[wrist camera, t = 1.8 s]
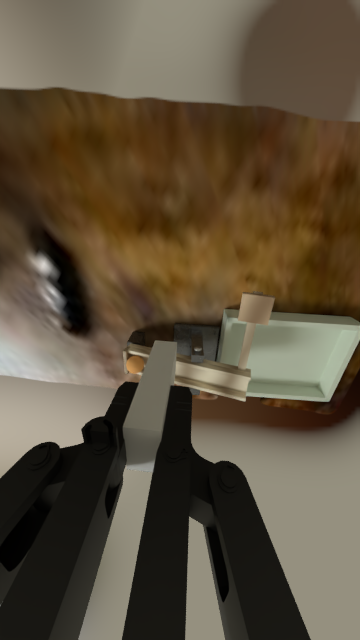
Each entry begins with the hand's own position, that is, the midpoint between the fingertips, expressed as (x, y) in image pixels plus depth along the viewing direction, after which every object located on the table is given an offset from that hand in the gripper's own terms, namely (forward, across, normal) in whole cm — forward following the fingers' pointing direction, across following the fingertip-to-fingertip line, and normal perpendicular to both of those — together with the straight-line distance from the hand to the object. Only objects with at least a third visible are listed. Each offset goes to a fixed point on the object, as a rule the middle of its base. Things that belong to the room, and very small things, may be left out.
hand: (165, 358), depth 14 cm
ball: (+18, -8, -15) cm, 24 cm away
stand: (+25, -1, -15) cm, 29 cm away
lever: (+19, +2, -8) cm, 21 cm away
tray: (+26, +20, -15) cm, 36 cm away
